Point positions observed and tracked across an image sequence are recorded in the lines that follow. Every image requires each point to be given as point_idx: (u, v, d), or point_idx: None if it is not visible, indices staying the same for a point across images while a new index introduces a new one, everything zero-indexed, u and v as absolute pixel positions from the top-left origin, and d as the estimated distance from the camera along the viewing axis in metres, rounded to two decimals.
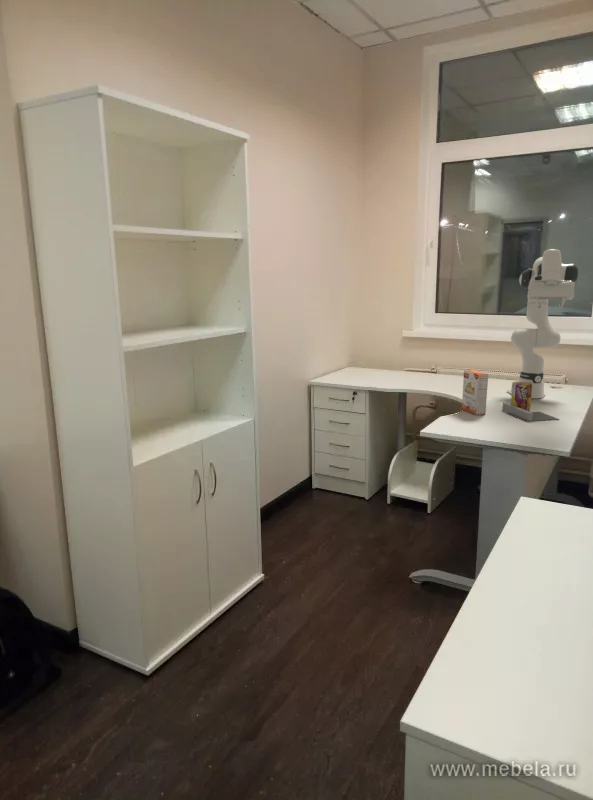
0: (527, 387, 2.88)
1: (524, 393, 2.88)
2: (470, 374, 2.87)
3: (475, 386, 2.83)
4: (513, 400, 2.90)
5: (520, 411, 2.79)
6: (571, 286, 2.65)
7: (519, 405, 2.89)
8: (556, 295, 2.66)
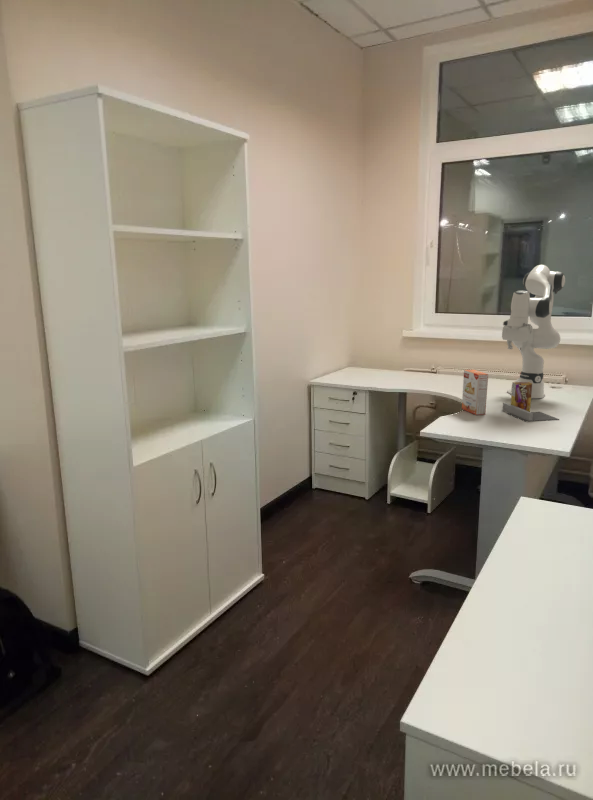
0: (527, 387, 2.88)
1: (524, 393, 2.88)
2: (470, 374, 2.87)
3: (475, 386, 2.83)
4: (513, 400, 2.90)
5: (520, 411, 2.79)
6: (526, 331, 2.83)
7: (519, 405, 2.89)
8: (517, 340, 2.89)
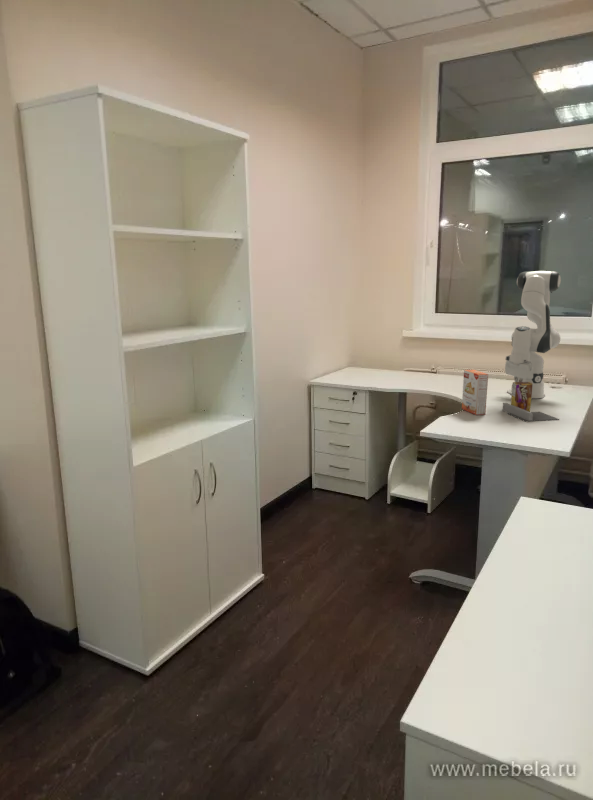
0: (527, 387, 2.88)
1: (524, 393, 2.88)
2: (470, 374, 2.87)
3: (475, 386, 2.83)
4: (513, 400, 2.90)
5: (520, 411, 2.79)
6: (526, 368, 2.82)
7: (519, 405, 2.89)
8: (518, 376, 2.89)
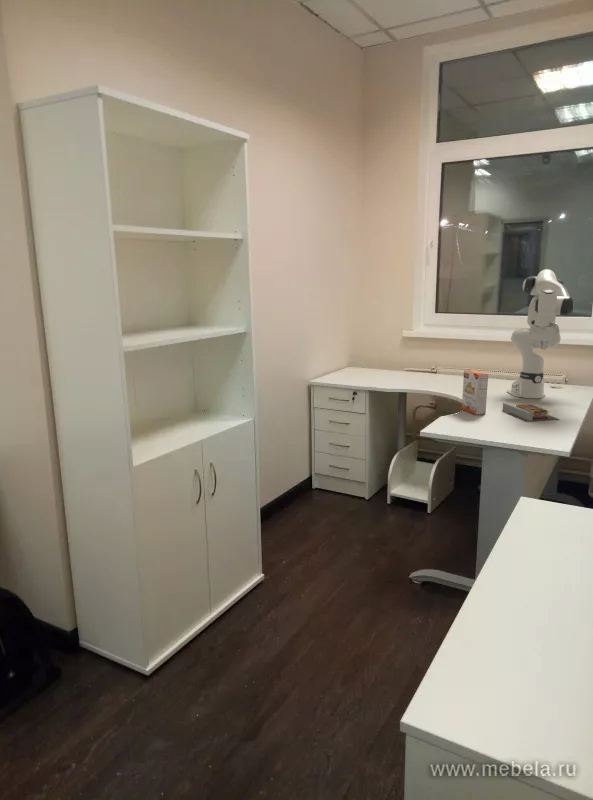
0: None
1: None
2: (470, 374, 2.87)
3: (475, 386, 2.83)
4: None
5: (520, 411, 2.79)
6: (552, 331, 2.84)
7: None
8: (543, 339, 2.90)
